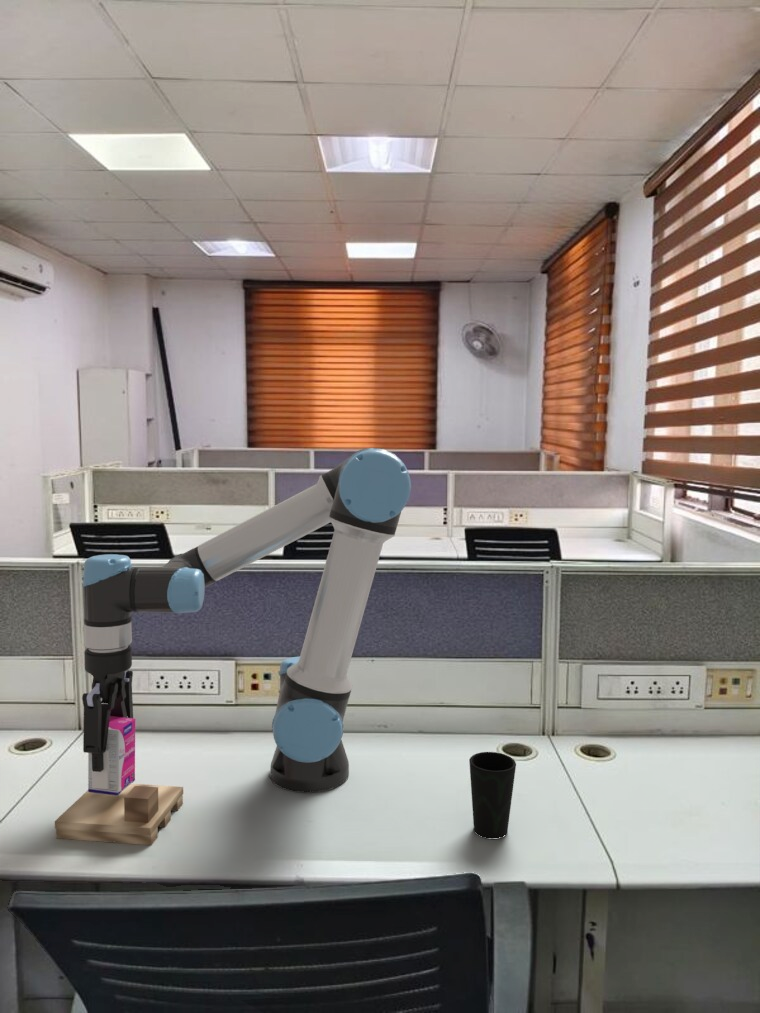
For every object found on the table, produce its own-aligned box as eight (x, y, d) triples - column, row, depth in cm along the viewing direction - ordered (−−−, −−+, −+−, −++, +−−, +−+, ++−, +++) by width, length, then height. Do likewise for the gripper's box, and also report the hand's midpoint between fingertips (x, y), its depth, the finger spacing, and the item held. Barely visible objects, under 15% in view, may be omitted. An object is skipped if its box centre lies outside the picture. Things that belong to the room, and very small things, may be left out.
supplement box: (119, 796, 123) (118, 730, 121) (87, 792, 124) (85, 727, 123) (137, 780, 128) (136, 717, 127) (106, 777, 129) (104, 714, 128)
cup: (502, 847, 117) (505, 775, 116) (459, 833, 121) (461, 764, 120) (520, 827, 124) (522, 758, 123) (479, 814, 128) (480, 747, 127)
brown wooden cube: (158, 810, 122) (158, 787, 121) (148, 822, 118) (148, 798, 117) (135, 808, 122) (135, 785, 122) (124, 821, 118) (124, 797, 118)
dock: (183, 803, 130) (183, 787, 130) (150, 846, 116) (150, 828, 116) (97, 797, 132) (97, 781, 132) (55, 839, 118) (54, 821, 118)
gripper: (113, 631, 134) (114, 753, 136) (56, 662, 115) (59, 803, 117) (152, 633, 133) (153, 756, 135) (102, 664, 114) (104, 807, 116)
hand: (110, 778), depth 126 cm, fingers closed on supplement box, 6 cm apart
